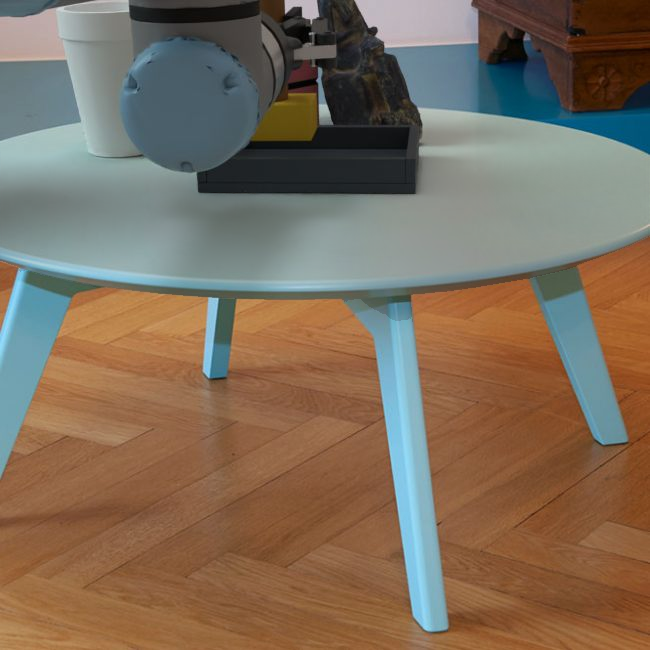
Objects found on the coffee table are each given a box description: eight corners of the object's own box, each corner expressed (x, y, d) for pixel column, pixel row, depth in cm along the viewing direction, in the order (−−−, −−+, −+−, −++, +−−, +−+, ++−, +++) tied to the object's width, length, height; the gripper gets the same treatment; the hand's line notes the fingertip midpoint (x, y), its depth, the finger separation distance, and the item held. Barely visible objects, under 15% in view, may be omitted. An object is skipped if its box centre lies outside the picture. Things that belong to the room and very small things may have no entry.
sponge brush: (227, 141, 94) (216, -36, 89) (237, 128, 99) (228, -41, 93) (311, 141, 93) (305, -38, 88) (317, 128, 98) (312, -43, 93)
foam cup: (143, 164, 101) (130, 14, 96) (52, 158, 104) (36, 12, 99) (189, 140, 109) (179, 1, 104) (103, 135, 112) (90, 0, 107)
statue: (403, 151, 103) (403, -20, 98) (304, 135, 111) (299, -26, 105) (438, 140, 107) (440, -26, 102) (340, 125, 114) (337, -31, 109)
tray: (197, 192, 92) (195, 158, 91) (225, 155, 104) (223, 124, 102) (415, 193, 90) (415, 158, 89) (418, 155, 102) (419, 124, 101)
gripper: (120, 124, 78) (190, 68, 100) (349, 122, 77) (370, 66, 98) (109, 12, 76) (184, -21, 97) (346, 8, 74) (369, -24, 96)
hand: (277, 23), depth 98 cm, fingers closed on sponge brush, 3 cm apart
